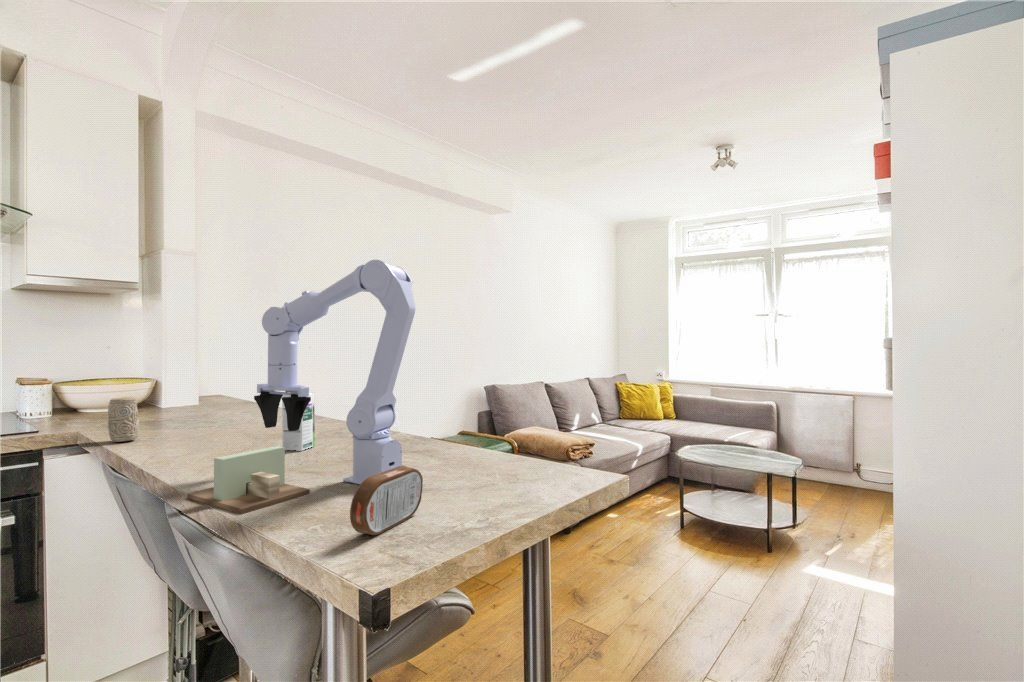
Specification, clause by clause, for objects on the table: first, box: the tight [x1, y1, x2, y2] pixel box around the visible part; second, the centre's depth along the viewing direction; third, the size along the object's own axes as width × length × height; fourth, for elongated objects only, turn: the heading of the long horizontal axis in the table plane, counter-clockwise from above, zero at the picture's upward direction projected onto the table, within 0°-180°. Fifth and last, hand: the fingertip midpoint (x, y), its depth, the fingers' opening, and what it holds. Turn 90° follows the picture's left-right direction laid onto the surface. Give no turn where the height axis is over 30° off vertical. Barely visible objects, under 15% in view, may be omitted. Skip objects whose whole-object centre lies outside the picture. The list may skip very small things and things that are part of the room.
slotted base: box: [186, 472, 311, 515], centre depth 91 cm, size 16×13×4 cm
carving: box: [107, 396, 140, 443], centre depth 139 cm, size 6×8×12 cm
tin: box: [349, 464, 424, 536], centre depth 77 cm, size 15×3×8 cm, turn 156°
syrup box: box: [281, 392, 316, 452], centre depth 131 cm, size 6×6×14 cm
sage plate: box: [213, 445, 286, 501], centre depth 91 cm, size 12×2×7 cm, turn 150°
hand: (281, 428), depth 107 cm, fingers open, 7 cm apart
